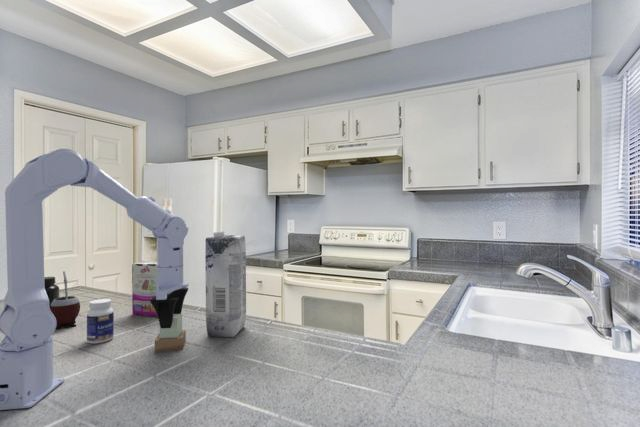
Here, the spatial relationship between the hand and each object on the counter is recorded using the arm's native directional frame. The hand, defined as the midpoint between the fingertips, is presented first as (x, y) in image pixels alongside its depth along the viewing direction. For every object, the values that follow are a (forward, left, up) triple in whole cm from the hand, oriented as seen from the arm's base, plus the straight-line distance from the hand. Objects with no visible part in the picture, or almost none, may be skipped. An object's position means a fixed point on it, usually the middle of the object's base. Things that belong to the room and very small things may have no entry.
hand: (171, 322), depth 82 cm
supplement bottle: (+33, +47, -6) cm, 58 cm away
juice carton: (+8, -12, -6) cm, 16 cm away
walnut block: (0, 0, -6) cm, 6 cm away
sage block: (0, 0, -3) cm, 3 cm away
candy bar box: (+29, +14, -6) cm, 33 cm away
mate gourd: (+21, +35, -6) cm, 41 cm away
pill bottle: (+7, +19, -6) cm, 21 cm away
